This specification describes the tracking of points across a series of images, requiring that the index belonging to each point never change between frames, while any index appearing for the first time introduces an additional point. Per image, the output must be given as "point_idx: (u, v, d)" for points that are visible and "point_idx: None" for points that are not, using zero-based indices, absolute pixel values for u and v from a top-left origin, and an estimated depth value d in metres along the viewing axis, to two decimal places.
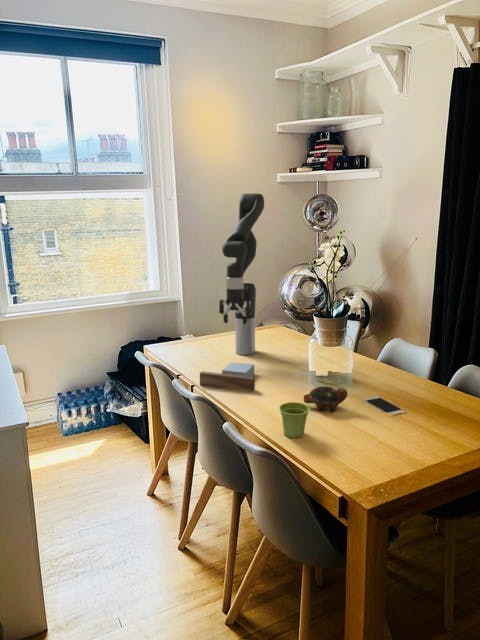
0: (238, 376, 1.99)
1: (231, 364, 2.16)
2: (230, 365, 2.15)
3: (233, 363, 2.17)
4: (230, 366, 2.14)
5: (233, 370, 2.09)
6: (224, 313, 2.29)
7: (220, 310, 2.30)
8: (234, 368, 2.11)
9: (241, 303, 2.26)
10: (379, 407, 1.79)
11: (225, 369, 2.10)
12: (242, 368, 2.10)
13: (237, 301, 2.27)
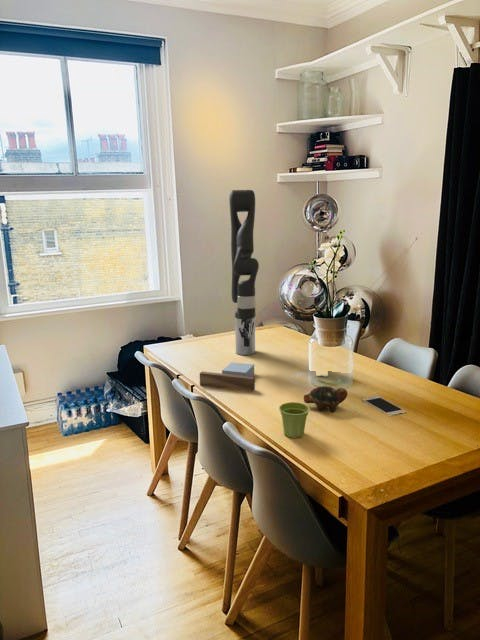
0: (238, 376, 1.99)
1: (231, 364, 2.16)
2: (230, 365, 2.15)
3: (233, 363, 2.17)
4: (230, 366, 2.13)
5: (233, 370, 2.08)
6: (249, 336, 2.18)
7: (247, 334, 2.16)
8: (234, 368, 2.11)
9: None
10: (379, 407, 1.79)
11: (225, 369, 2.10)
12: (242, 368, 2.10)
13: (250, 319, 2.19)
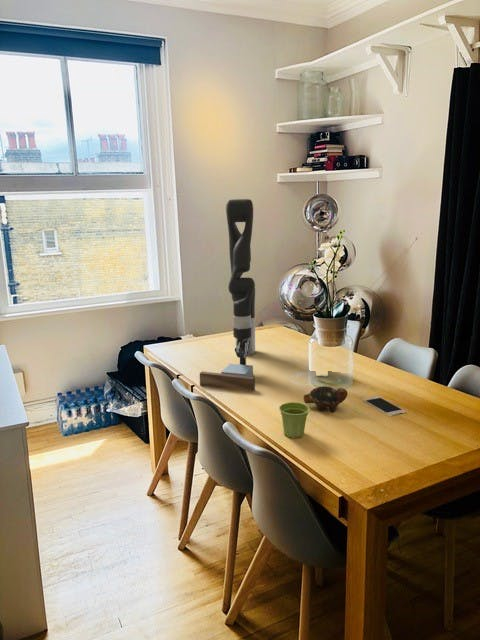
0: (238, 376, 1.99)
1: (229, 365, 2.14)
2: (229, 366, 2.13)
3: (231, 365, 2.15)
4: (229, 367, 2.12)
5: (232, 372, 2.07)
6: (245, 356, 2.15)
7: (243, 354, 2.13)
8: (233, 369, 2.09)
9: (247, 340, 2.17)
10: (379, 407, 1.79)
11: (224, 371, 2.08)
12: (241, 370, 2.09)
13: (246, 339, 2.16)
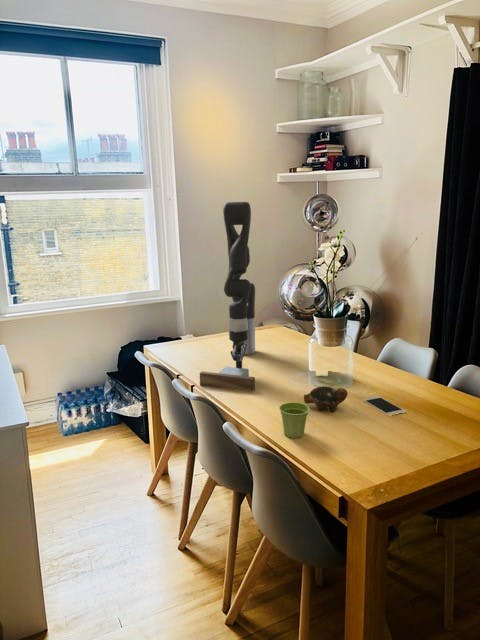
0: (238, 376, 1.99)
1: (225, 368, 2.11)
2: (224, 370, 2.09)
3: (227, 368, 2.12)
4: (224, 371, 2.08)
5: None
6: (241, 359, 2.11)
7: (239, 357, 2.09)
8: (228, 373, 2.06)
9: (243, 342, 2.13)
10: (379, 407, 1.79)
11: None
12: (236, 373, 2.05)
13: (242, 341, 2.12)
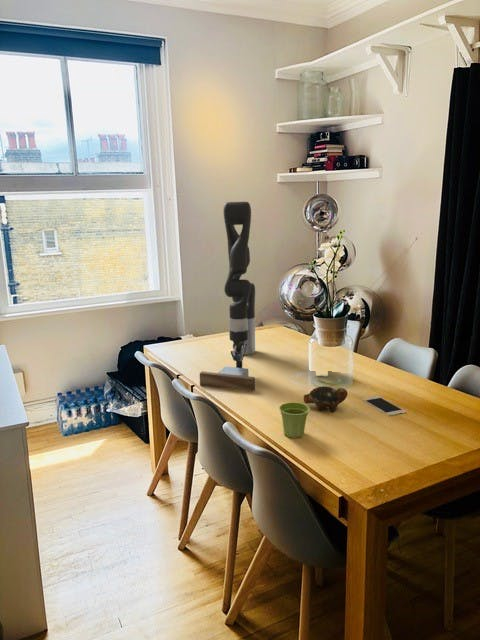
0: (238, 376, 1.99)
1: (224, 368, 2.11)
2: (223, 369, 2.10)
3: (226, 367, 2.12)
4: (223, 370, 2.08)
5: None
6: (241, 359, 2.12)
7: (239, 357, 2.10)
8: (228, 373, 2.06)
9: (244, 343, 2.14)
10: (379, 407, 1.79)
11: None
12: (236, 373, 2.05)
13: (242, 342, 2.12)
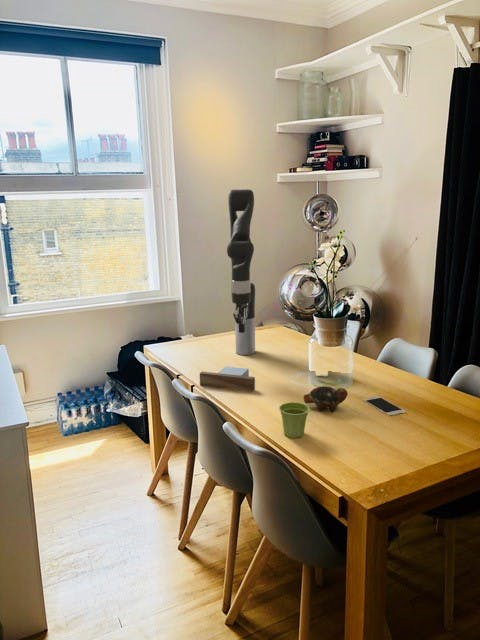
0: (238, 376, 1.99)
1: (225, 368, 2.11)
2: (224, 369, 2.10)
3: (227, 367, 2.12)
4: (224, 370, 2.08)
5: None
6: (244, 322, 2.11)
7: (242, 320, 2.09)
8: (228, 373, 2.06)
9: (246, 306, 2.13)
10: (379, 407, 1.79)
11: None
12: (236, 373, 2.05)
13: (245, 304, 2.12)
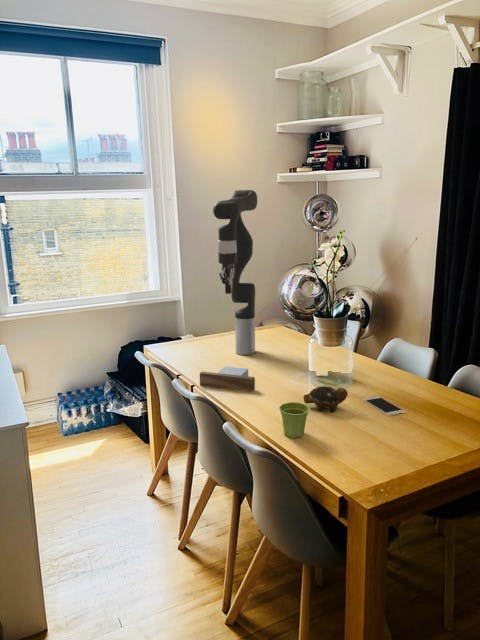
0: (238, 376, 1.99)
1: (224, 368, 2.11)
2: (223, 369, 2.10)
3: (226, 367, 2.12)
4: (223, 370, 2.08)
5: None
6: (230, 282, 2.13)
7: (228, 280, 2.11)
8: (228, 372, 2.06)
9: (233, 267, 2.16)
10: (379, 407, 1.79)
11: None
12: (236, 373, 2.05)
13: (231, 265, 2.14)
